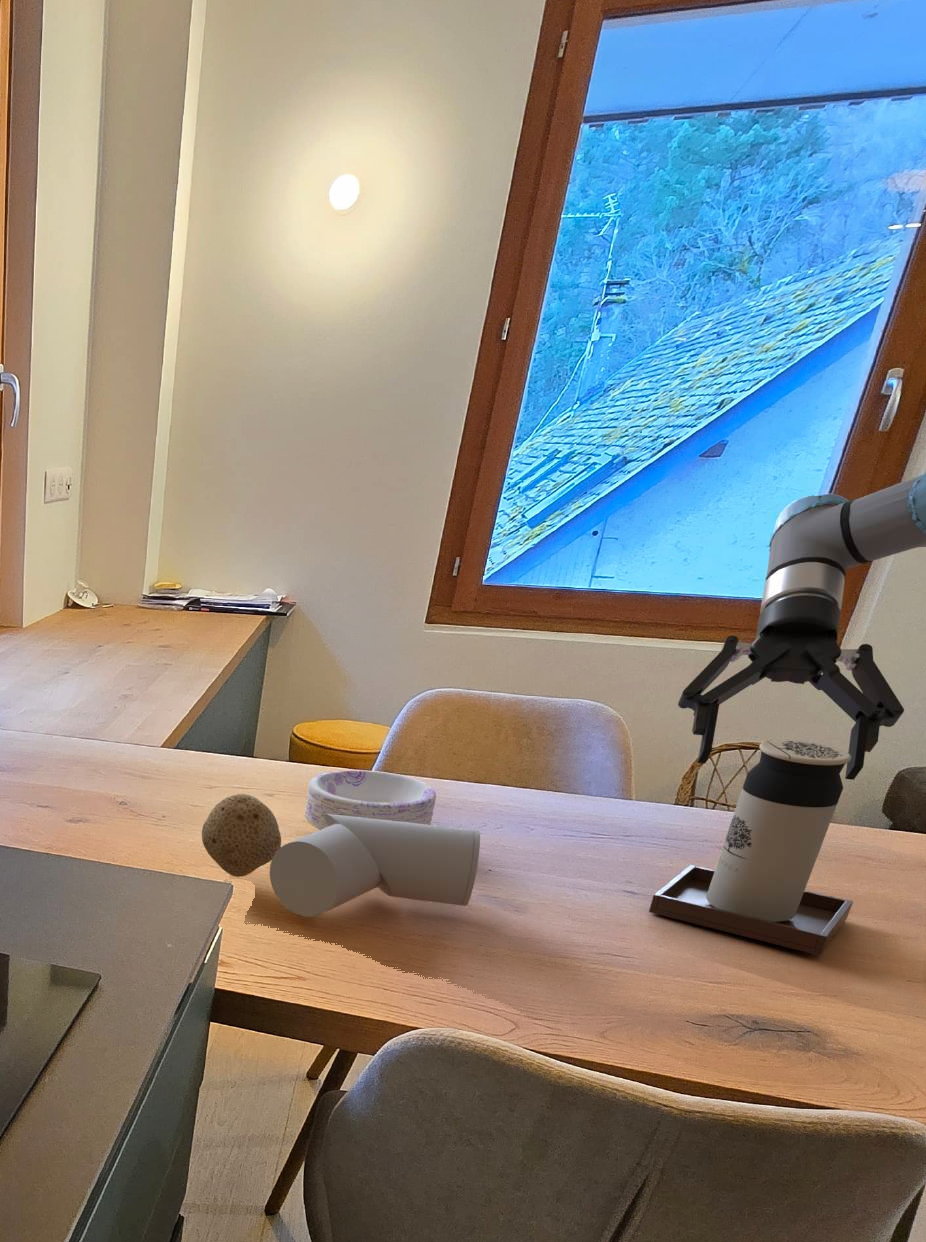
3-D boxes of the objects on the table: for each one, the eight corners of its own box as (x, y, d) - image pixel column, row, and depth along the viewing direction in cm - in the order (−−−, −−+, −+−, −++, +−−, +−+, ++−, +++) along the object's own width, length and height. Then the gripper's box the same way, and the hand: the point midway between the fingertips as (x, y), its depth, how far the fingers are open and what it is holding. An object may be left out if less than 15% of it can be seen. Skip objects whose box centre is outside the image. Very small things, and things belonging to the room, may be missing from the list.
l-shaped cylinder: (350, 841, 129) (250, 885, 117) (381, 766, 122) (279, 804, 111) (482, 916, 118) (386, 972, 107) (523, 838, 112) (426, 888, 101)
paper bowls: (337, 814, 145) (346, 759, 142) (446, 843, 135) (458, 784, 131) (278, 843, 136) (286, 785, 132) (390, 876, 126) (401, 814, 122)
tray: (846, 918, 113) (853, 901, 113) (820, 955, 104) (827, 936, 104) (685, 881, 124) (690, 864, 123) (648, 912, 115) (653, 894, 114)
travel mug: (782, 899, 116) (840, 742, 108) (804, 929, 109) (867, 764, 101) (698, 888, 118) (748, 735, 111) (714, 917, 112) (769, 756, 104)
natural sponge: (180, 868, 126) (187, 791, 122) (234, 853, 131) (242, 777, 126) (234, 895, 119) (244, 813, 115) (289, 878, 123) (300, 799, 119)
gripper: (922, 641, 120) (906, 798, 114) (667, 626, 132) (640, 767, 125) (952, 597, 114) (937, 761, 108) (681, 586, 125) (653, 732, 119)
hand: (777, 765), depth 117 cm, fingers open, 13 cm apart
